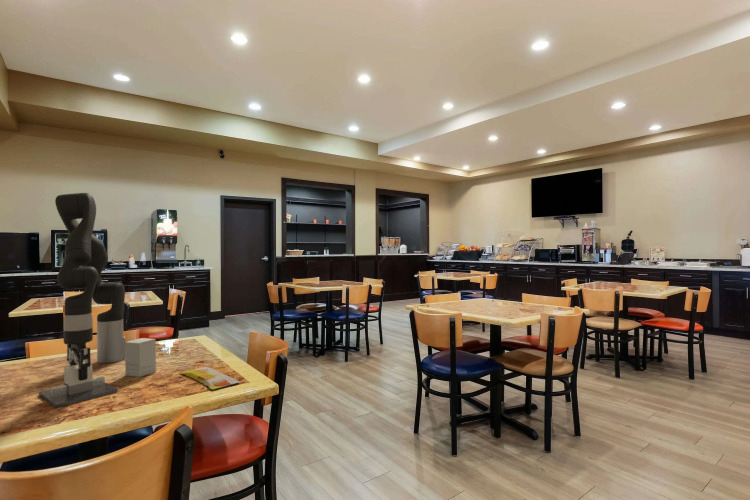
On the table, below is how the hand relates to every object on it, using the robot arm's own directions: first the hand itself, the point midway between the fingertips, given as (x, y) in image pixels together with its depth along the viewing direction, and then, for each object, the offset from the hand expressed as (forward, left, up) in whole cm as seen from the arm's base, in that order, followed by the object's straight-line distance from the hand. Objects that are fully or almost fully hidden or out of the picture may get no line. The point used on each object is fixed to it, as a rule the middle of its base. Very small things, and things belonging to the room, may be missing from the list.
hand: (78, 377), depth 124 cm
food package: (-33, +21, -6) cm, 40 cm away
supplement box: (-21, -6, -5) cm, 22 cm away
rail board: (0, 0, -5) cm, 5 cm away
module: (0, 0, -4) cm, 4 cm away
